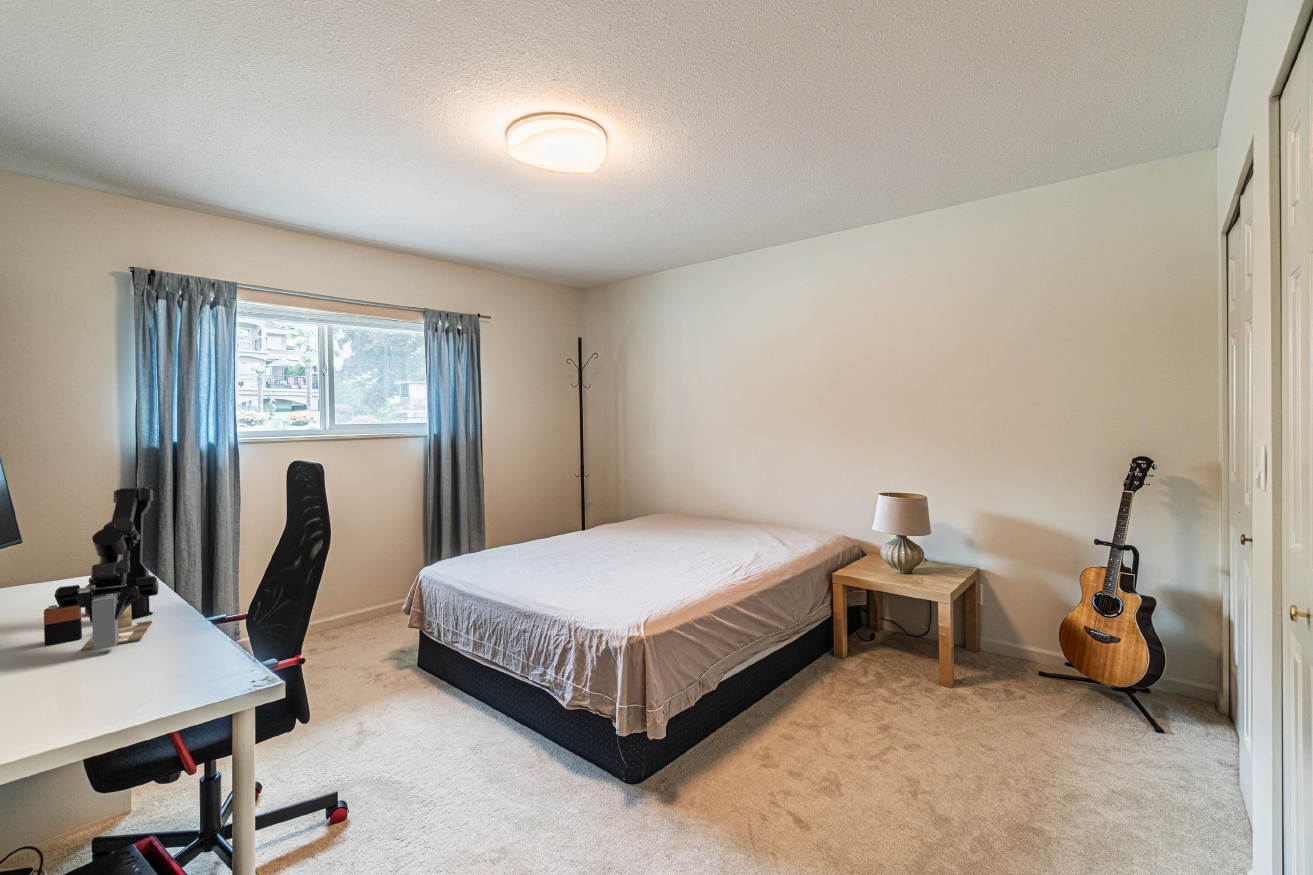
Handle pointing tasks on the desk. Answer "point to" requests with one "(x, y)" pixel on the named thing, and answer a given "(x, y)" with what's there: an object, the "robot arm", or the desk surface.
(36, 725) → the desk surface
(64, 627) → the battery
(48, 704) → the desk surface
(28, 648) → the desk surface
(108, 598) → the leg
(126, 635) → the board
